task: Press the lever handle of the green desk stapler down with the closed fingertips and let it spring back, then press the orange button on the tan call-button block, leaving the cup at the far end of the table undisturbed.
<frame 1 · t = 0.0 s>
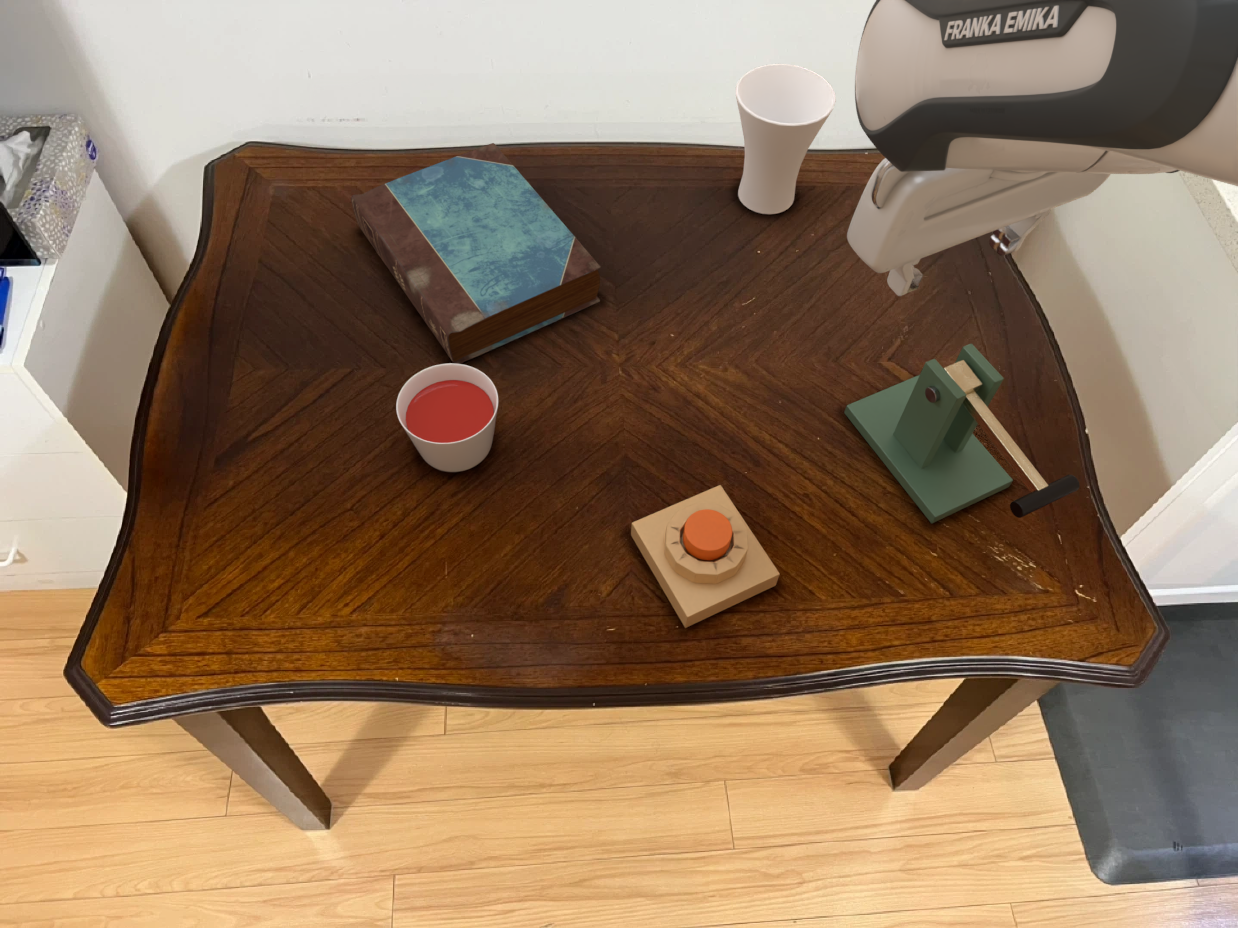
hand: (952, 267, 70), 24 cm above the table, tool pointing down, fingers open, 8 cm apart
button: (707, 534, 80), point 4 cm above the table, slide at 0.1 cm
call button: (702, 560, 83), on the table
book: (478, 266, 103), on the table
lever handle: (997, 434, 80), point 9 cm above the table, hinge at -5.8°
cup: (765, 197, 110), on the table
stapler: (924, 449, 91), on the table
white round tub: (456, 444, 90), on the table
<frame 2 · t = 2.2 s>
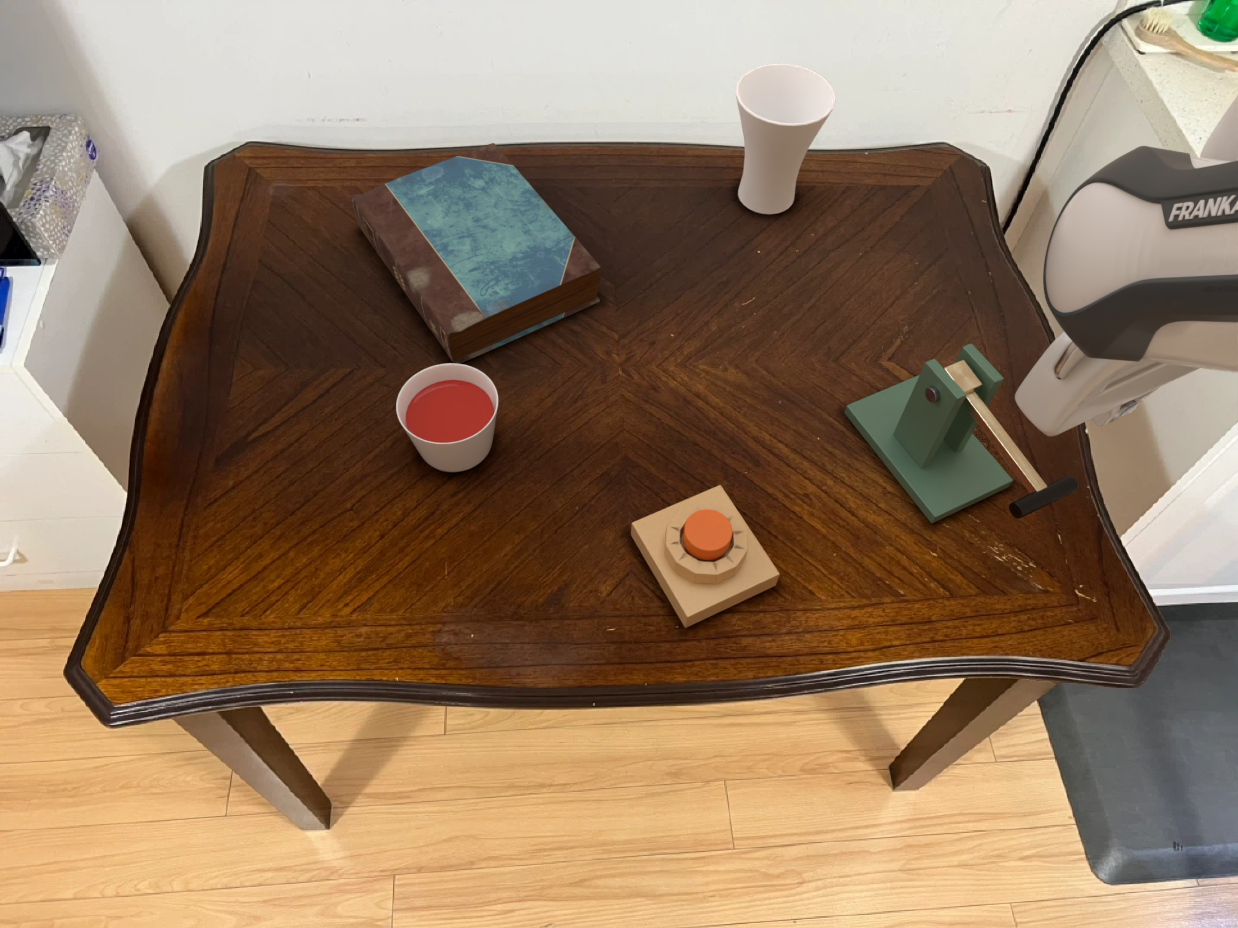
hand: (1107, 412, 68), 20 cm above the table, tool pointing down, fingers closed
lever handle: (997, 435, 80), point 9 cm above the table, hinge at -6.7°
everything else where it was.
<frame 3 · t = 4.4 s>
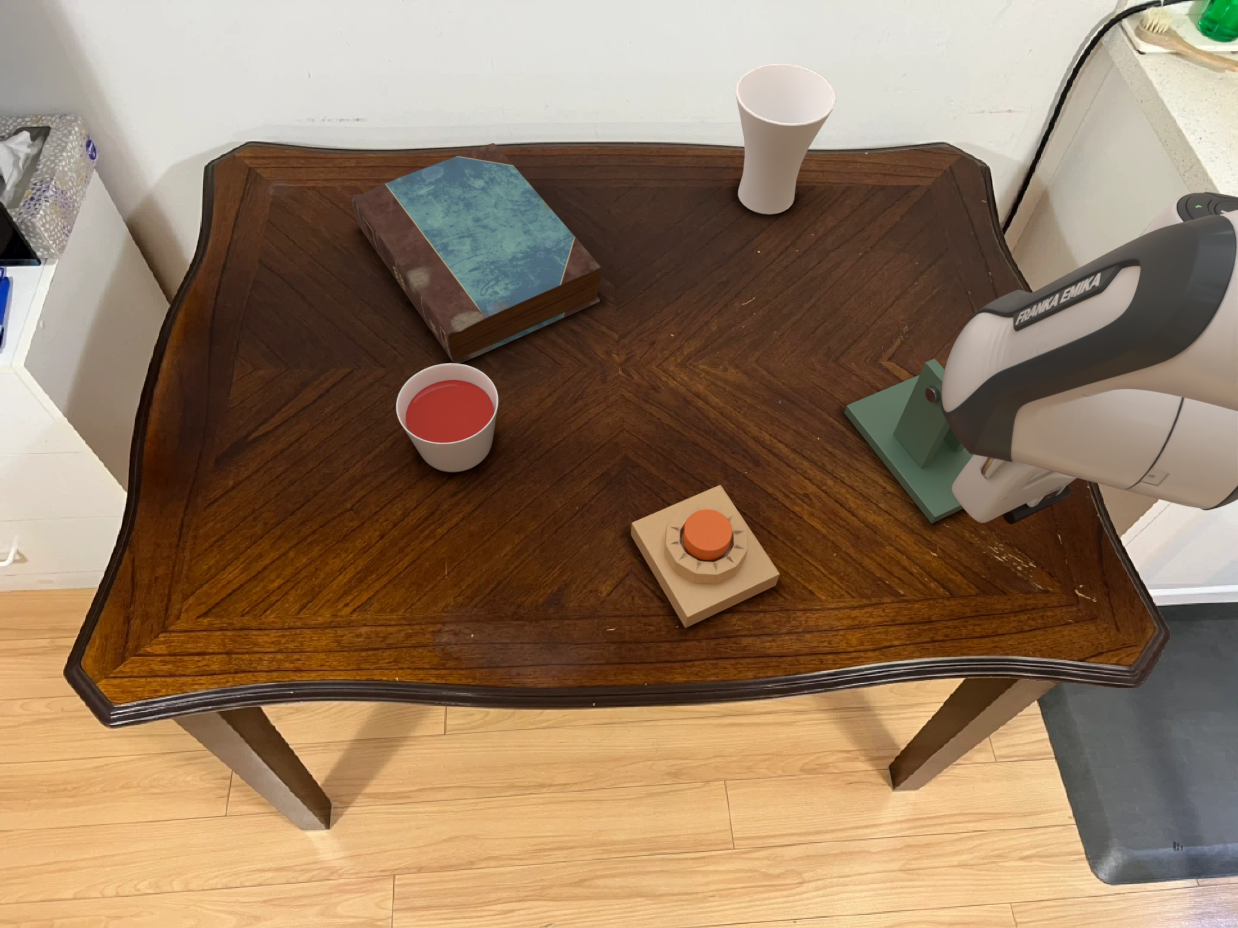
hand: (1037, 494, 78), 8 cm above the table, tool pointing down, fingers closed, pressing on lever handle
lever handle: (994, 438, 81), point 9 cm above the table, hinge at -12.4°, touching gripper
everything else where it was.
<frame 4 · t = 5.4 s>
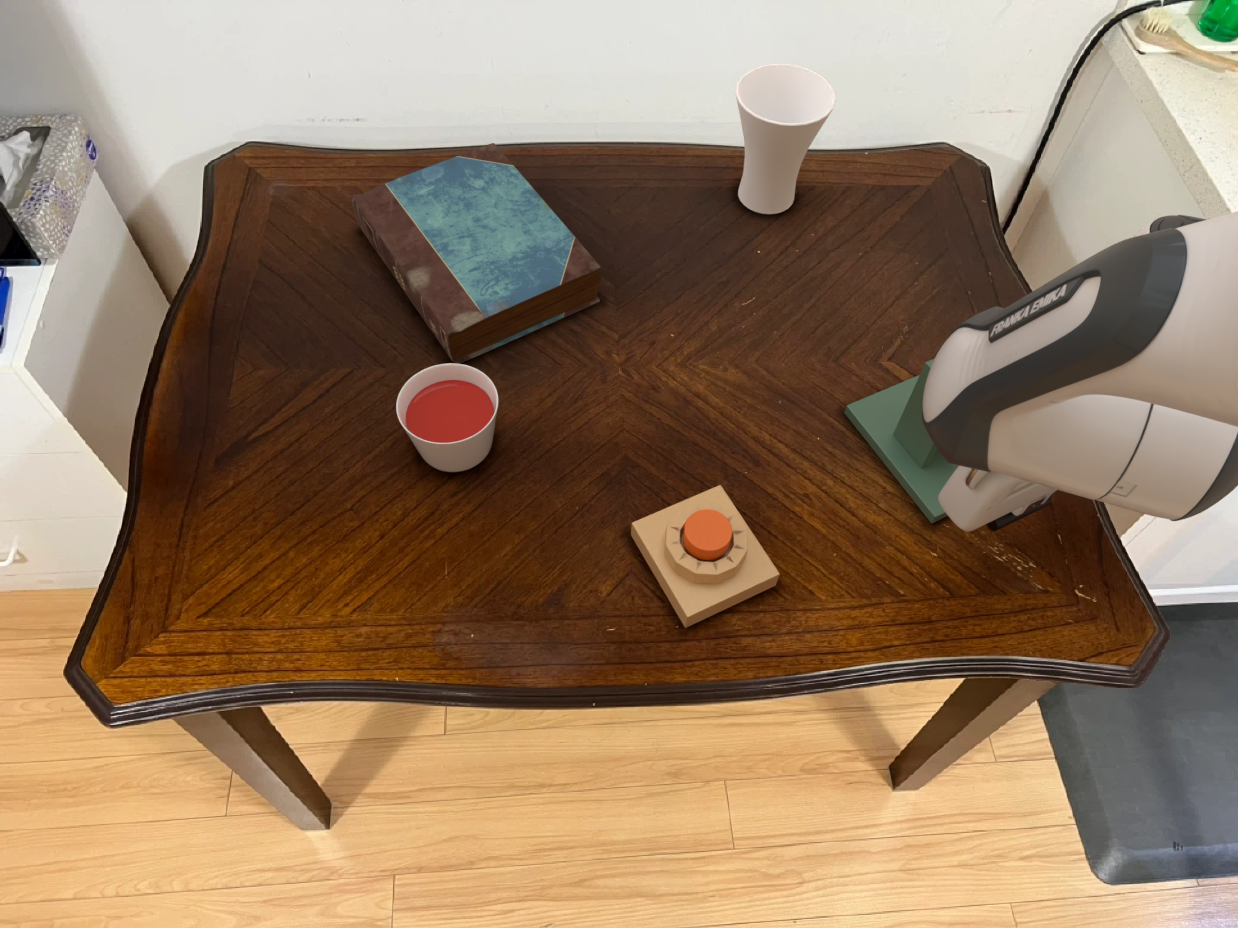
hand: (1022, 503, 80), 6 cm above the table, tool pointing down, fingers closed, pressing on lever handle
lever handle: (986, 442, 82), point 8 cm above the table, hinge at -24.9°, touching gripper
everything else where it was.
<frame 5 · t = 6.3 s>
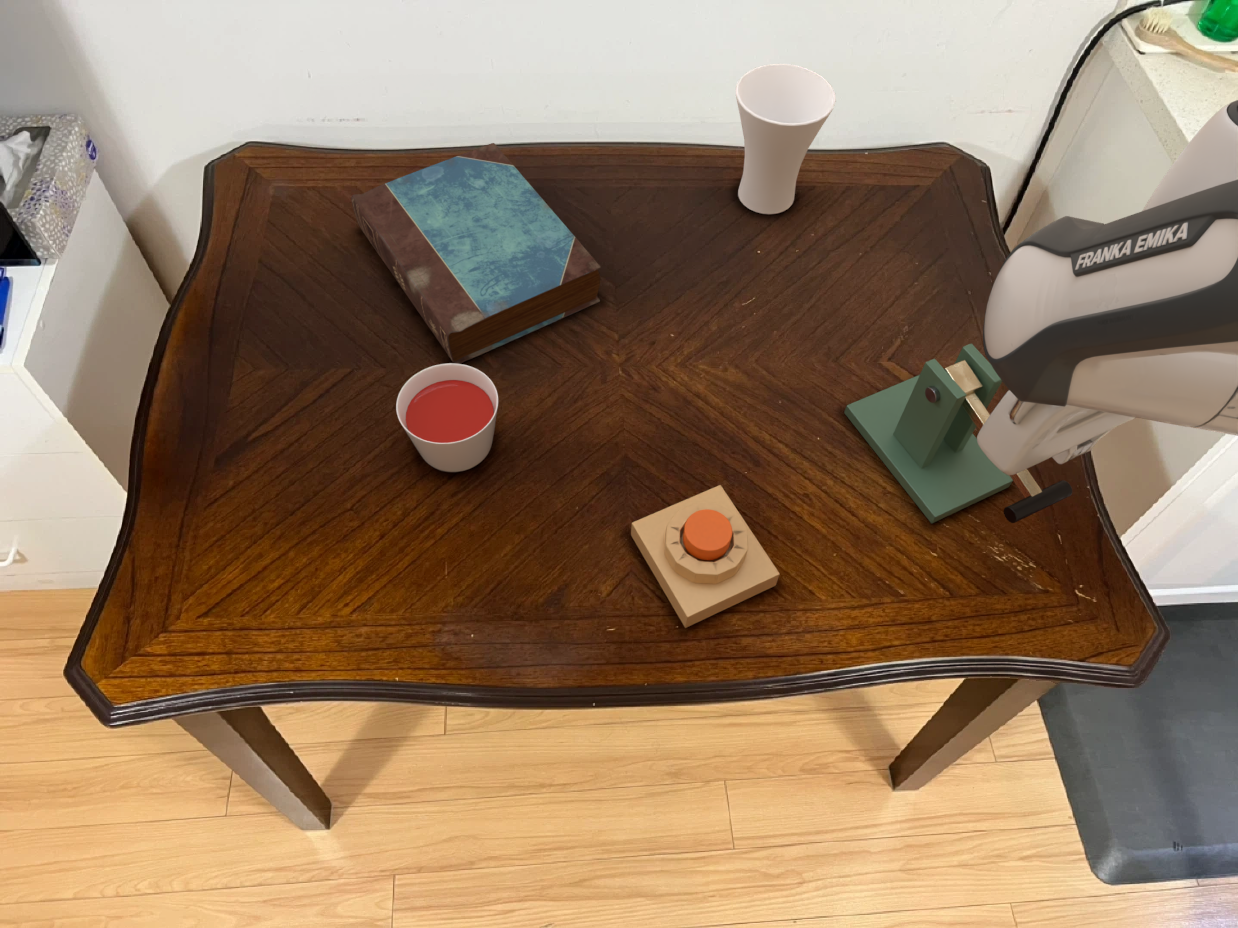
hand: (1066, 451, 73), 14 cm above the table, tool pointing down, fingers closed
lever handle: (994, 437, 81), point 9 cm above the table, hinge at -11.2°
everything else where it was.
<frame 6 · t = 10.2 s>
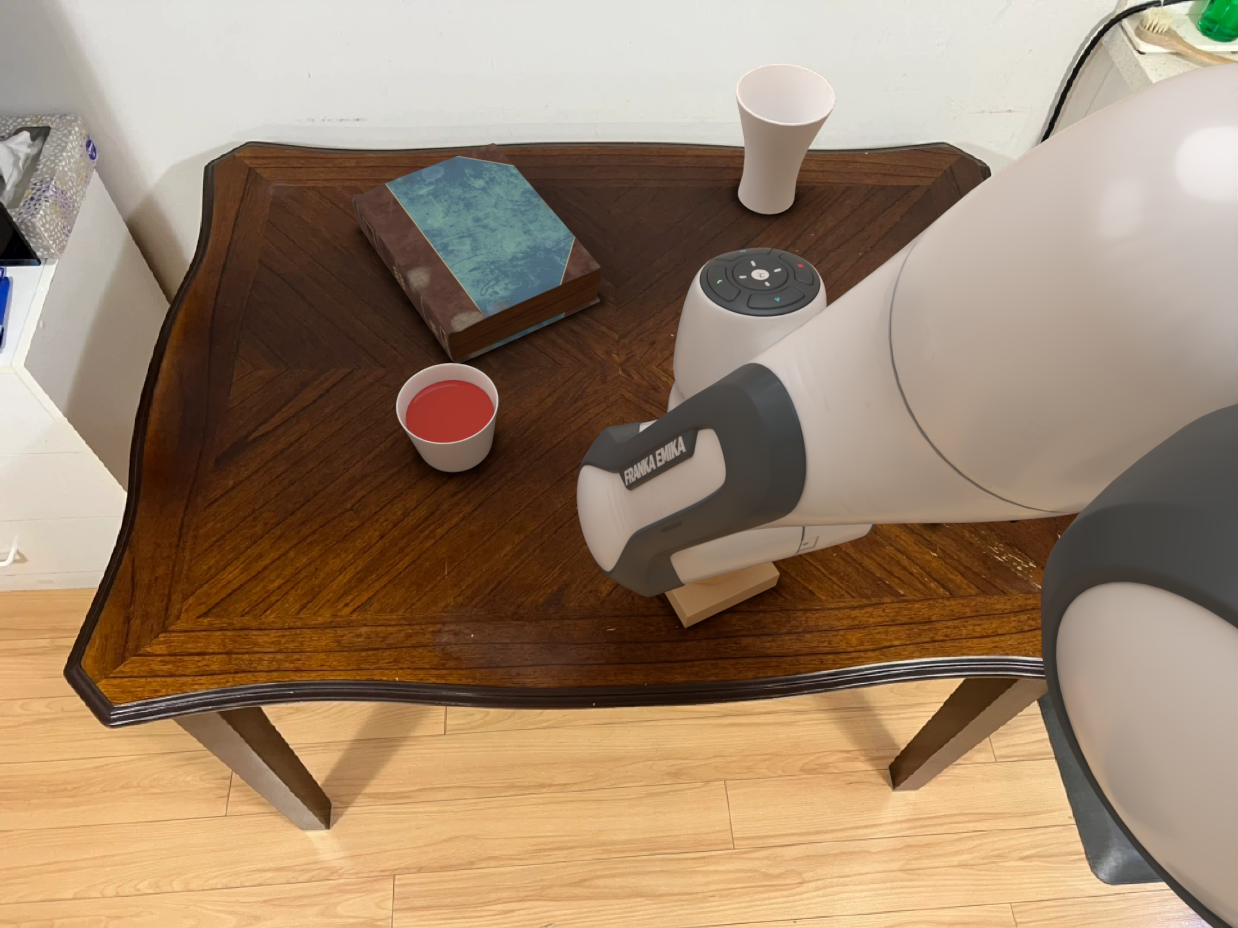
hand: (706, 530, 79), 5 cm above the table, tool pointing down, fingers closed, pressing on button
button: (707, 536, 80), point 4 cm above the table, slide at -0.2 cm, touching gripper
everything else where it was.
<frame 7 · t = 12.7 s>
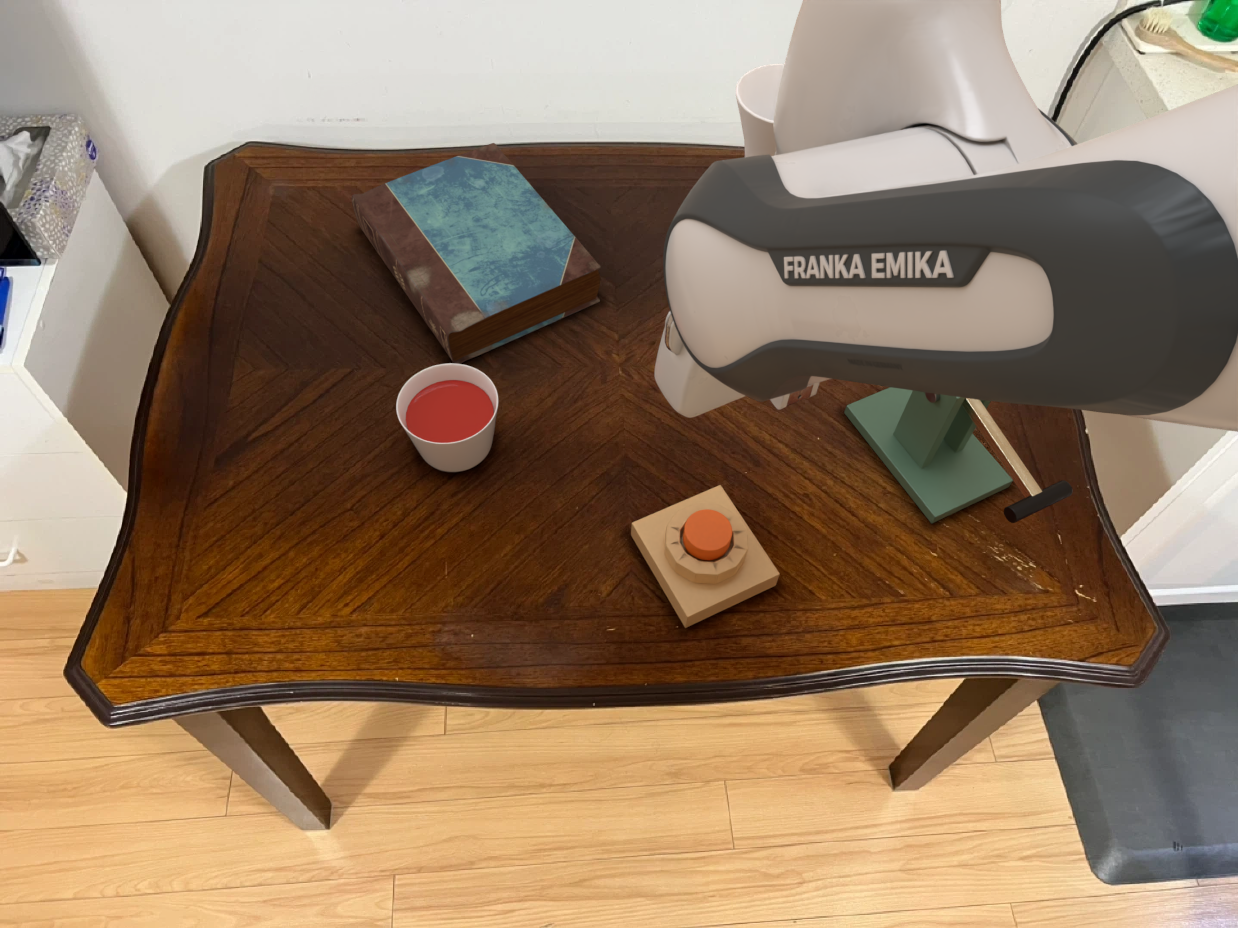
hand: (790, 395, 64), 23 cm above the table, tool pointing down, fingers closed
button: (707, 534, 80), point 4 cm above the table, slide at 0.1 cm
everything else where it was.
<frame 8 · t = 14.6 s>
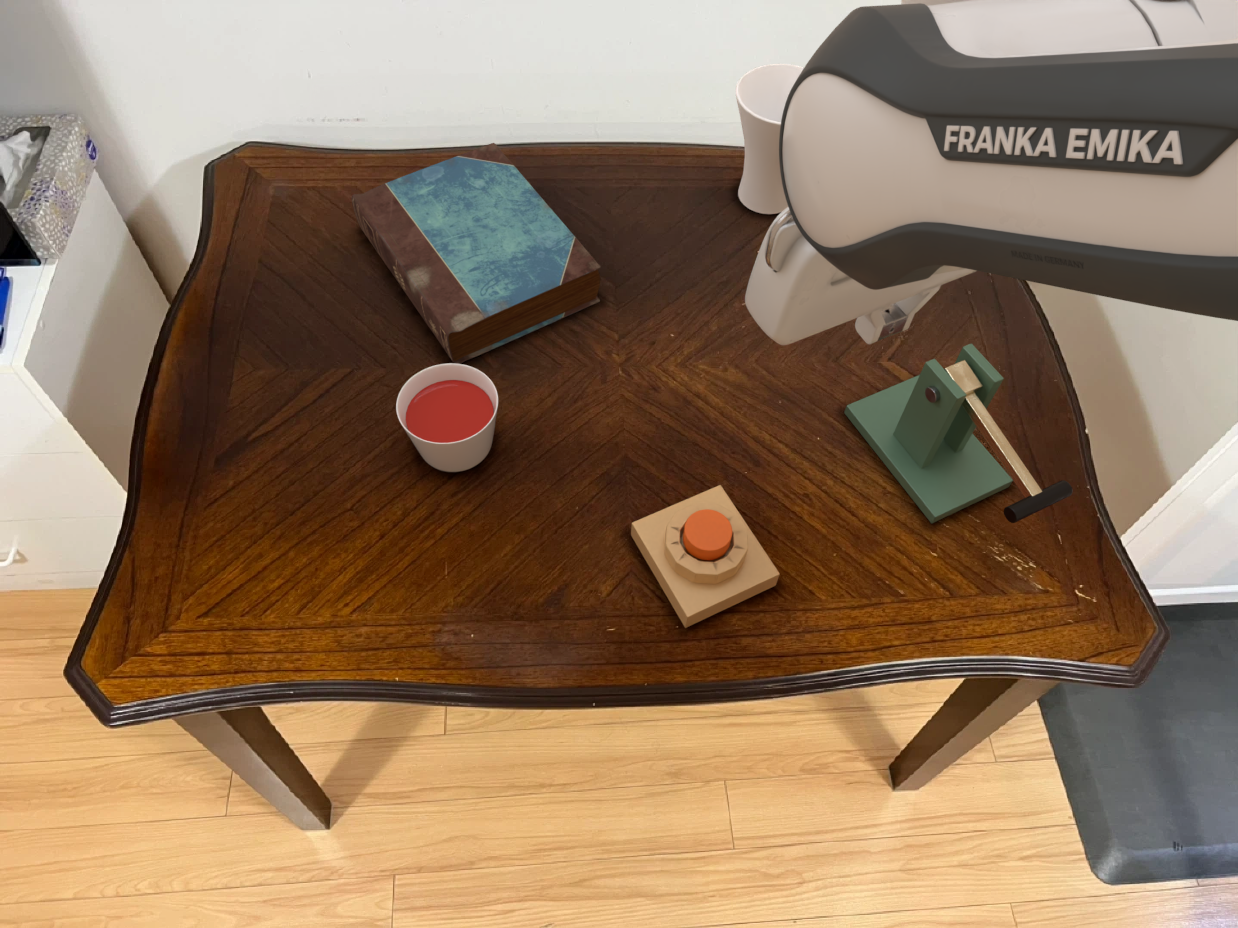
hand: (880, 330, 60), 29 cm above the table, tool pointing down, fingers closed
nothing on the table moved.
at the end: lever handle reached -25° during the clip, -11° at the end; button pushed in 1.0 cm at the most during the clip, back to where it started at the end; cup moved 0.2 cm from its start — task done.
